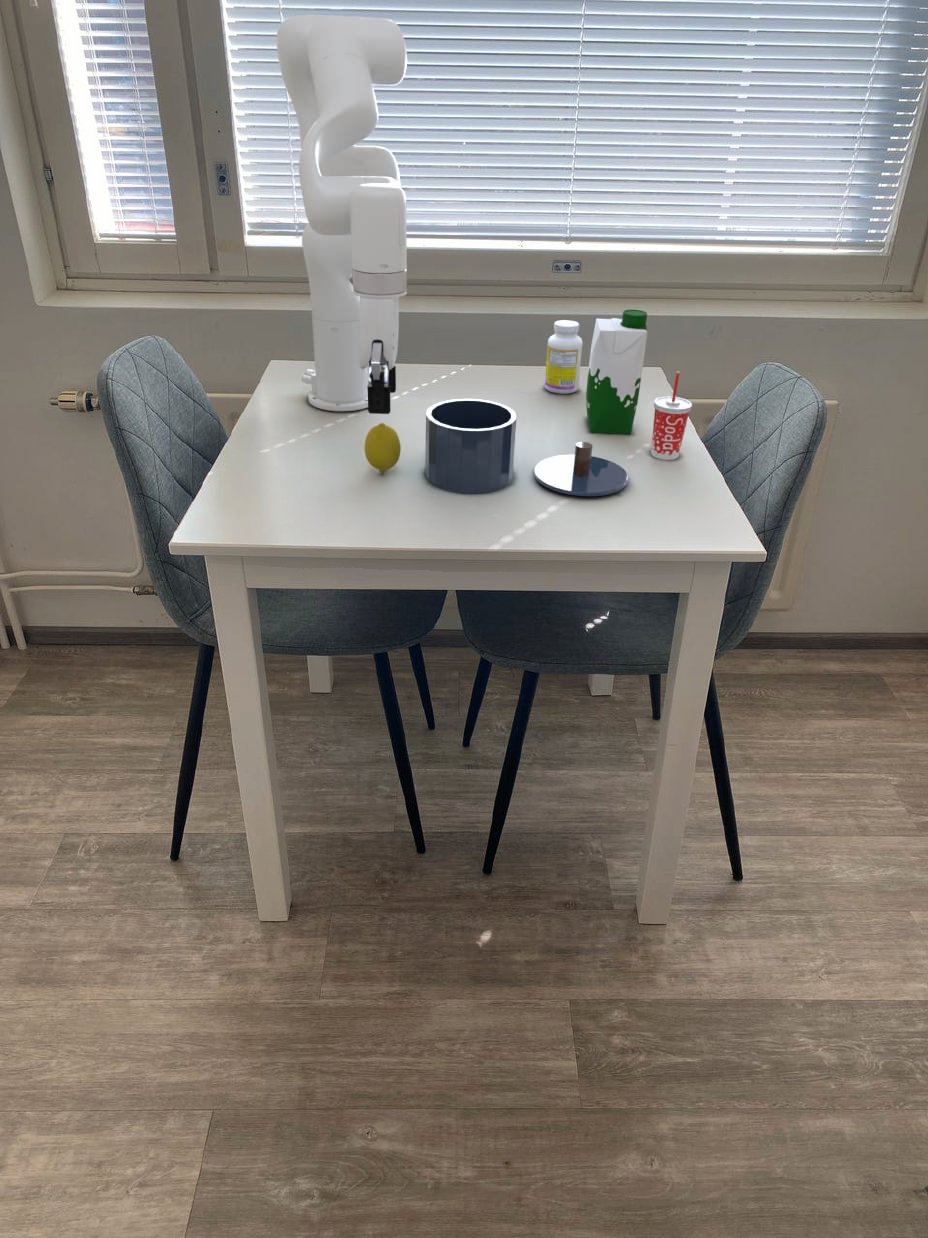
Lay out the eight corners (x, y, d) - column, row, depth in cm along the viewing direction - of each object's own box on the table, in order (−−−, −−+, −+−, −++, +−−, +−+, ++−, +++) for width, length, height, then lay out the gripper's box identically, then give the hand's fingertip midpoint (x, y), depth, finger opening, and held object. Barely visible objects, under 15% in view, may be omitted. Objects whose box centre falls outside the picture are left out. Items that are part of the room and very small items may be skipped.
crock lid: (535, 497, 134) (538, 461, 131) (532, 459, 147) (535, 425, 144) (632, 501, 134) (637, 465, 131) (621, 463, 147) (626, 429, 143)
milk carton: (636, 436, 157) (653, 319, 146) (584, 434, 157) (597, 317, 146) (630, 418, 164) (645, 306, 153) (581, 416, 164) (592, 304, 153)
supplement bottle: (555, 381, 181) (561, 316, 174) (584, 388, 177) (591, 322, 170) (537, 389, 176) (542, 323, 169) (566, 397, 173) (573, 329, 166)
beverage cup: (643, 458, 149) (655, 374, 141) (649, 445, 154) (662, 364, 146) (680, 464, 147) (694, 380, 139) (685, 450, 152) (700, 369, 144)
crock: (422, 491, 135) (423, 428, 129) (428, 456, 146) (429, 396, 141) (512, 495, 135) (517, 432, 129) (511, 460, 146) (515, 400, 141)
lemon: (395, 481, 138) (394, 431, 133) (360, 477, 139) (359, 427, 134) (404, 467, 142) (404, 418, 138) (371, 463, 143) (369, 415, 139)
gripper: (360, 269, 132) (363, 383, 141) (345, 295, 118) (350, 421, 127) (410, 270, 132) (411, 385, 141) (402, 297, 118) (403, 422, 127)
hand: (382, 402), depth 134 cm, fingers open, 9 cm apart
